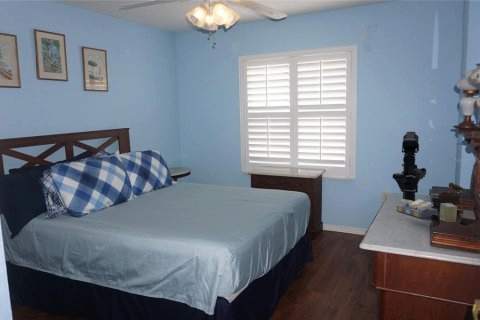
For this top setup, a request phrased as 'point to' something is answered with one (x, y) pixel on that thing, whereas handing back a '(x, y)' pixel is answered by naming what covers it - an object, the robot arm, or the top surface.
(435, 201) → the electrical switch
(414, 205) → the rocker middle
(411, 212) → the console
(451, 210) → the skincare box
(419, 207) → the rocker right
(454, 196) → the music box
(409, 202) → the rocker left
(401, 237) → the top surface
